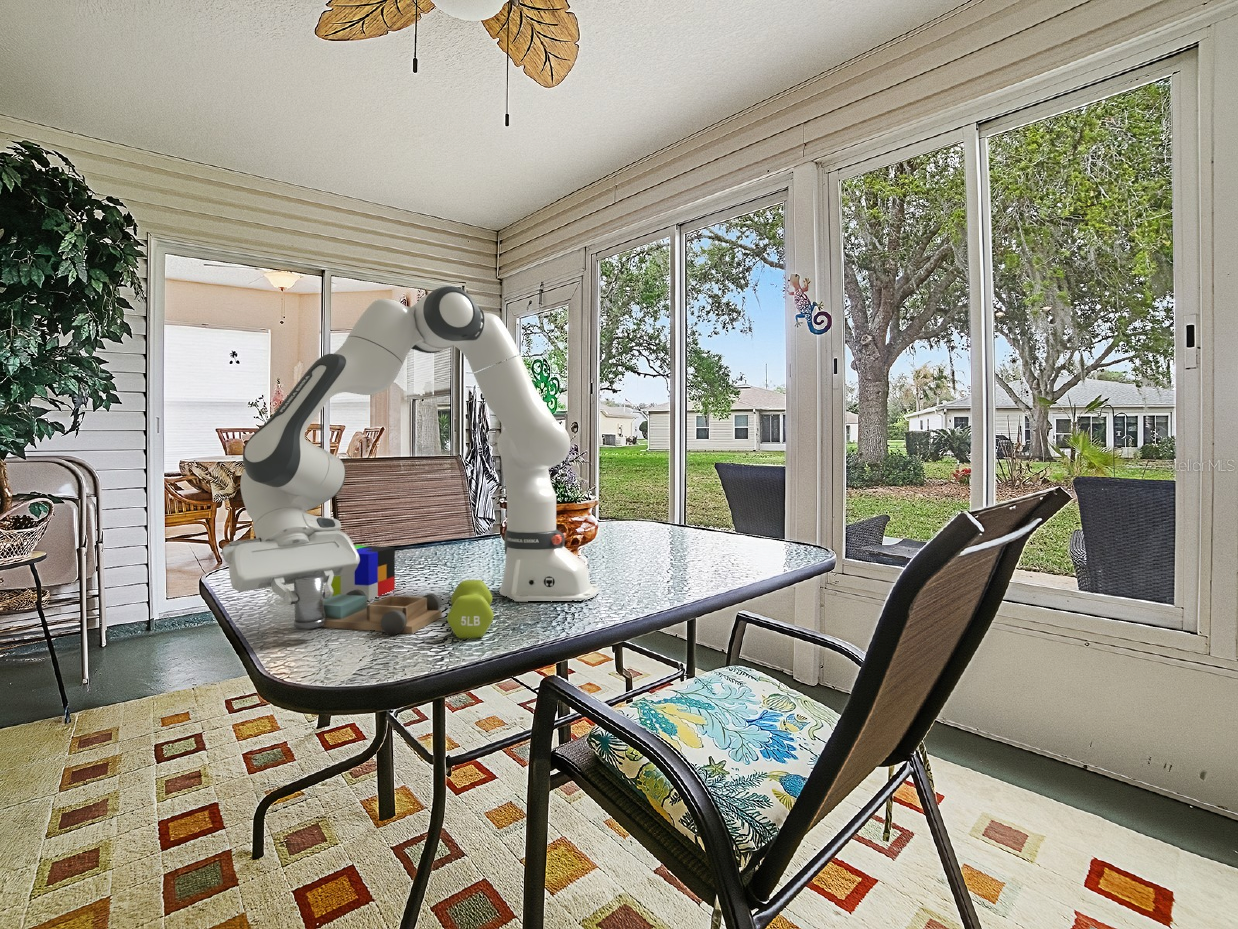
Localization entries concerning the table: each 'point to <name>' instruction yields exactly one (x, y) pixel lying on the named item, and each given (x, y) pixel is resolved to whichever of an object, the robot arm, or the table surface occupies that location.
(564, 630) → the table surface
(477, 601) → the dumbbell
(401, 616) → the chassis
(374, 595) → the puzzle toy
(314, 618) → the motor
